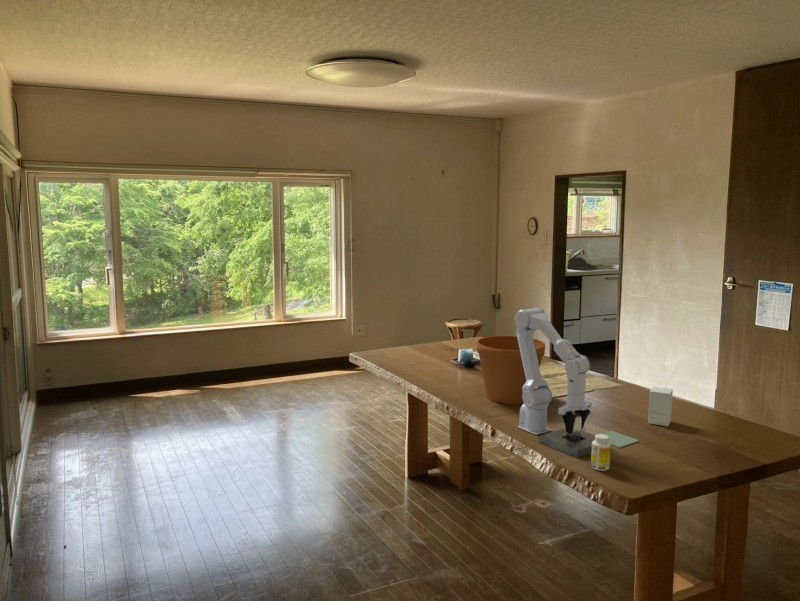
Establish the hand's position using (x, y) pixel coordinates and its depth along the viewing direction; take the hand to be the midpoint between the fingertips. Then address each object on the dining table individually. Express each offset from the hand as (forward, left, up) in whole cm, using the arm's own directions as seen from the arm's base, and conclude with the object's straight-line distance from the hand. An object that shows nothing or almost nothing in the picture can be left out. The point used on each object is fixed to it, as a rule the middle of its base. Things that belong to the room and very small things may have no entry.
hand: (574, 431), depth 210 cm
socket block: (0, 0, -5) cm, 5 cm away
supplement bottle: (+17, -8, -5) cm, 19 cm away
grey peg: (0, 0, -3) cm, 3 cm away
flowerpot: (-51, +20, -5) cm, 55 cm away
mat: (+5, +16, -5) cm, 17 cm away
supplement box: (+3, +45, -5) cm, 45 cm away
